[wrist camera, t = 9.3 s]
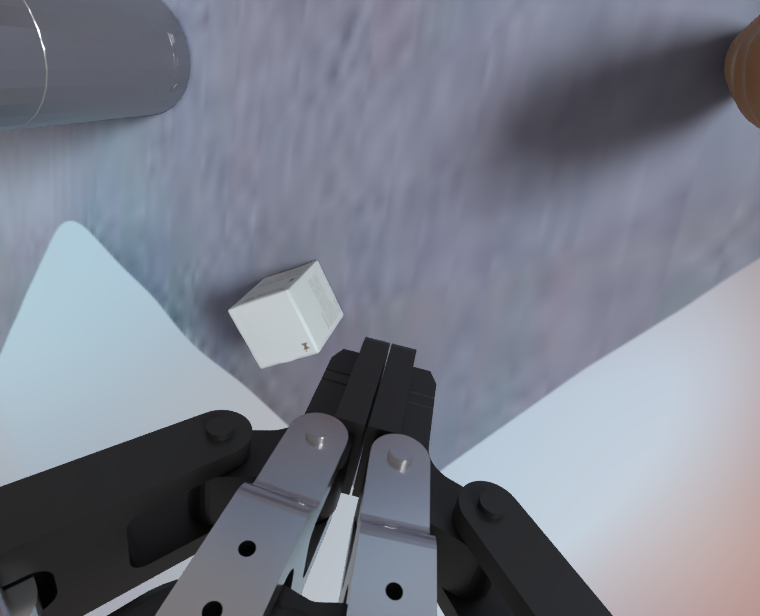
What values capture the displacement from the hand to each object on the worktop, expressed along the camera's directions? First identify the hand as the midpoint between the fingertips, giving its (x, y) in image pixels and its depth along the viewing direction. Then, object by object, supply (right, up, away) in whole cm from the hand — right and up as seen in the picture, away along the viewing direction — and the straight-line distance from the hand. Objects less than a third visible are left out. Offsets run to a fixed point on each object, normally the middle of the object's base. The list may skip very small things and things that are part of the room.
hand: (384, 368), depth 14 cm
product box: (-7, +3, +32) cm, 33 cm away
